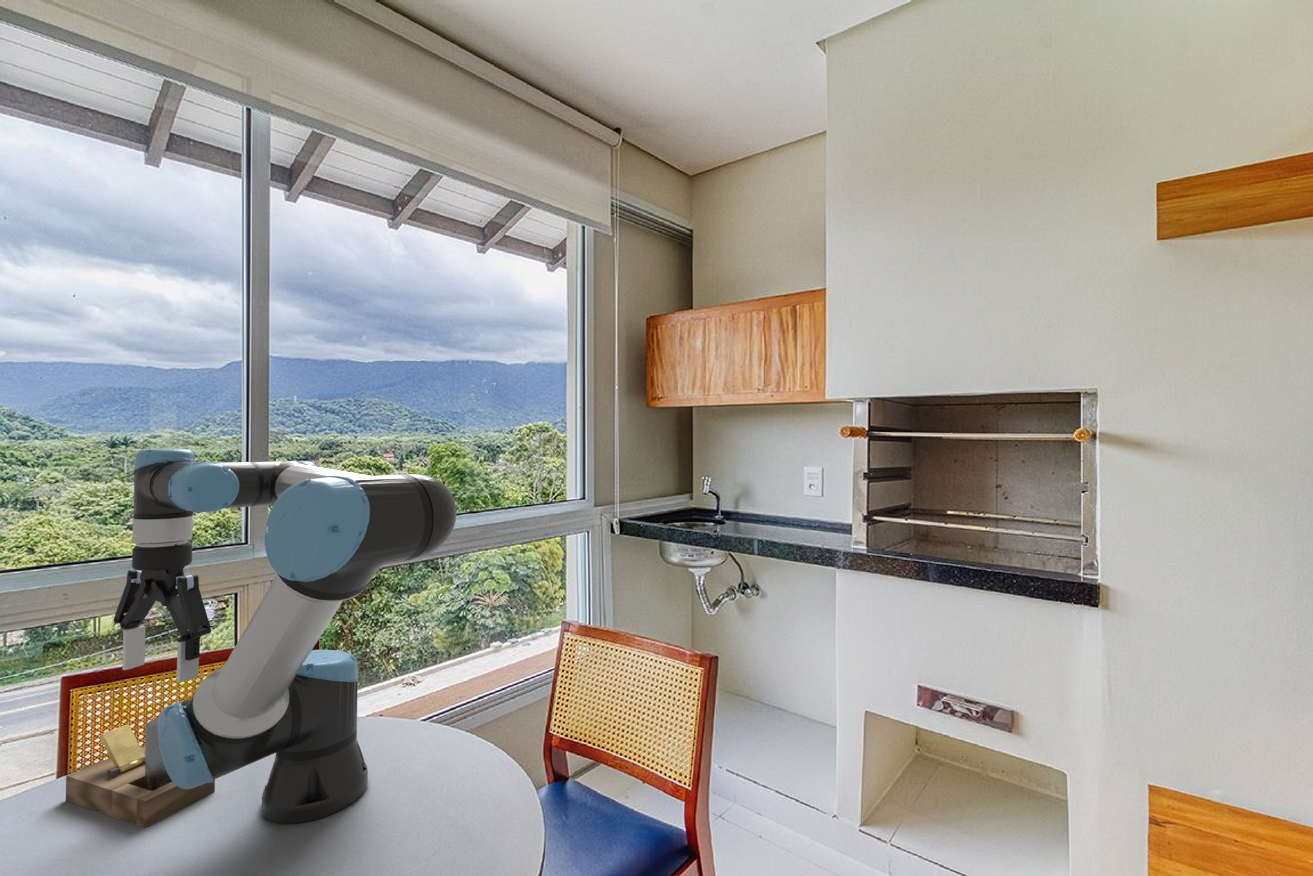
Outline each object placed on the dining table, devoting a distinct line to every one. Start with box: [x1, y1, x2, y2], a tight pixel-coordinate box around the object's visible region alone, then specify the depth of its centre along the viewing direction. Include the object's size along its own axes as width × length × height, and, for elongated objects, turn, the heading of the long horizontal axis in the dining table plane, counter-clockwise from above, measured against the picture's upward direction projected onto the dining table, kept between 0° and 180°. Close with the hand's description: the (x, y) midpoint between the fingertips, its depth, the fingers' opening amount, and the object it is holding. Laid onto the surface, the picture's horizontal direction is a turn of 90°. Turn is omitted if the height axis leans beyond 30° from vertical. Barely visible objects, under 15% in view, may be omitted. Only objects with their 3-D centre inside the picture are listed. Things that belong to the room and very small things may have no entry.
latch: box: [99, 723, 145, 774], centre depth 97 cm, size 7×4×1 cm
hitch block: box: [65, 746, 216, 828], centre depth 96 cm, size 20×10×5 cm, turn 70°
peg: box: [144, 717, 172, 791], centre depth 94 cm, size 4×4×13 cm
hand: (159, 673), depth 95 cm, fingers open, 13 cm apart
